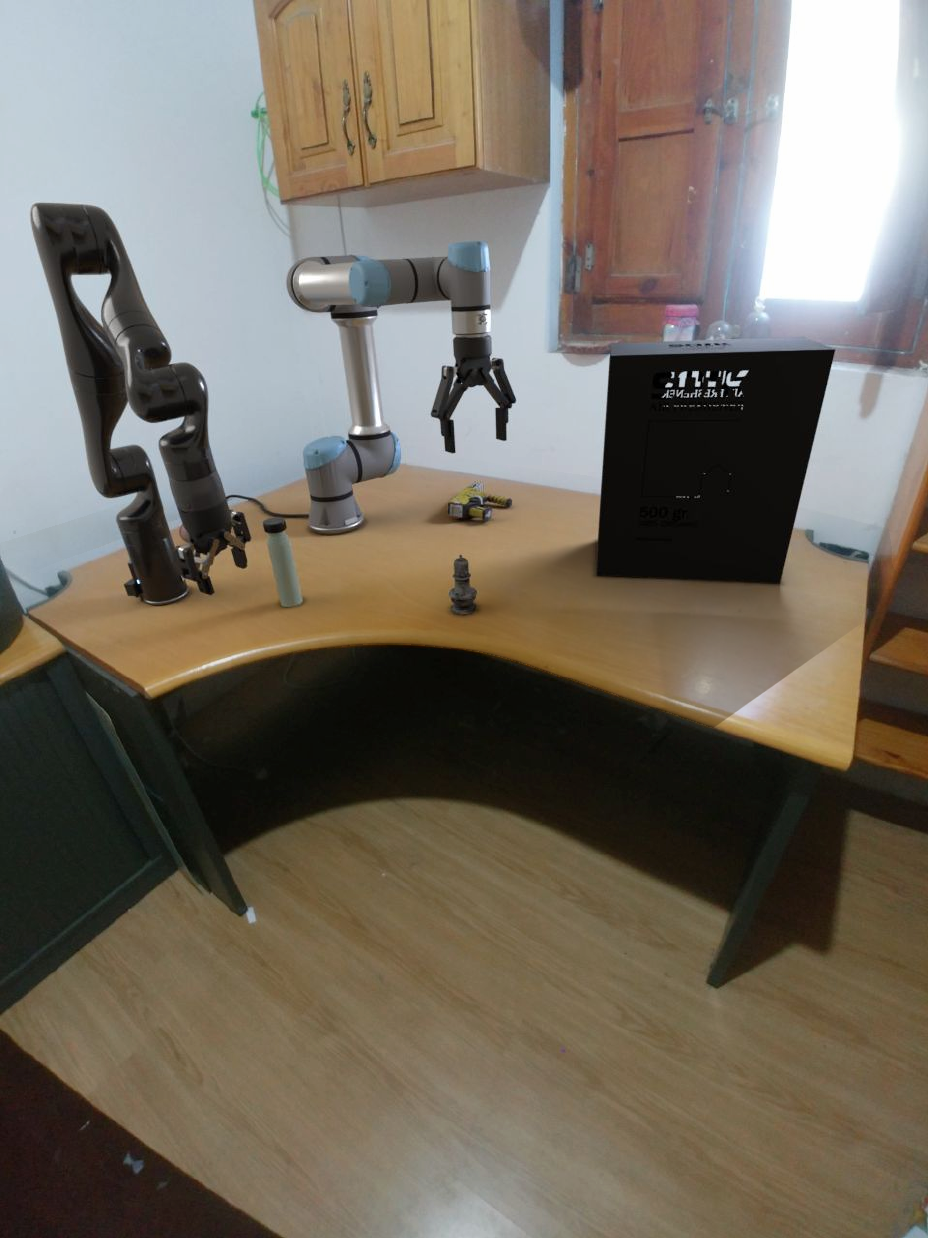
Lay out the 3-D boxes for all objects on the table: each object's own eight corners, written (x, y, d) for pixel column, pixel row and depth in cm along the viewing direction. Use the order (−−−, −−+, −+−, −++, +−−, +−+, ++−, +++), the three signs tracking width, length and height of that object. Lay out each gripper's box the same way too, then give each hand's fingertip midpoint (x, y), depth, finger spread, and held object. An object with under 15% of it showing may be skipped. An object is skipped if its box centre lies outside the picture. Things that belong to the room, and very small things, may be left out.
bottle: (306, 598, 132) (290, 519, 123) (296, 608, 128) (278, 527, 119) (287, 596, 133) (270, 517, 124) (277, 606, 129) (258, 526, 120)
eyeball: (192, 548, 159) (186, 527, 156) (178, 544, 162) (171, 523, 159) (211, 540, 164) (205, 519, 161) (197, 537, 167) (190, 516, 164)
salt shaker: (475, 615, 121) (472, 561, 115) (446, 614, 122) (442, 560, 116) (480, 601, 126) (478, 548, 120) (452, 600, 127) (449, 547, 121)
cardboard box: (759, 545, 143) (803, 336, 120) (780, 583, 126) (835, 349, 103) (597, 539, 151) (610, 343, 128) (596, 575, 134) (610, 355, 111)
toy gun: (520, 486, 181) (473, 479, 185) (498, 510, 161) (445, 501, 165) (519, 501, 183) (472, 494, 187) (496, 526, 163) (445, 518, 167)
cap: (291, 526, 123) (289, 517, 122) (279, 534, 120) (277, 525, 119) (271, 524, 124) (269, 516, 123) (260, 533, 121) (258, 524, 120)
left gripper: (212, 474, 102) (235, 554, 112) (147, 513, 92) (179, 597, 102) (248, 482, 99) (268, 563, 110) (185, 523, 89) (214, 608, 100)
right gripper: (429, 342, 108) (437, 460, 118) (533, 329, 120) (532, 437, 131) (407, 340, 113) (417, 454, 124) (508, 328, 125) (510, 432, 136)
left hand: (225, 579), depth 106 cm, fingers open, 8 cm apart
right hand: (476, 445), depth 127 cm, fingers open, 13 cm apart
